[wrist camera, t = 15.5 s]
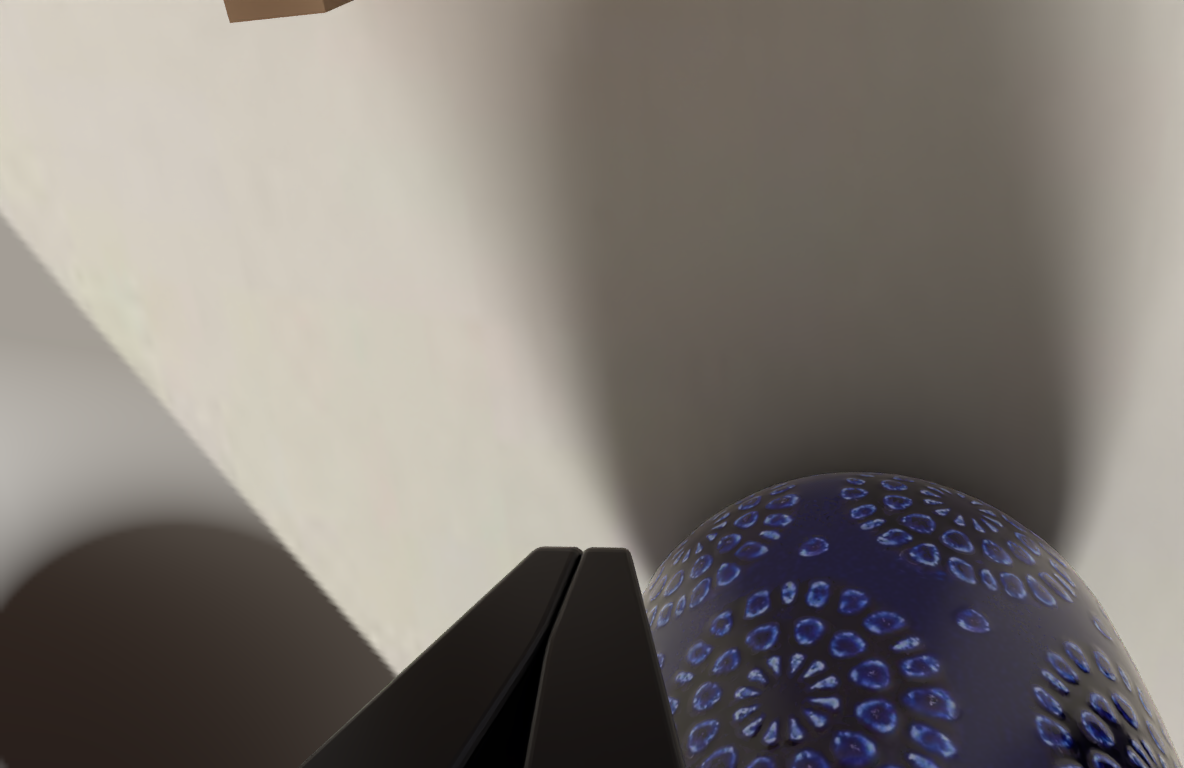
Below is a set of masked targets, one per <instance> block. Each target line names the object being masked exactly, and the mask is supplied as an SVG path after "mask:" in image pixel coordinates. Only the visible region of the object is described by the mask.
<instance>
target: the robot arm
mask: <svg viewBox="0 0 1184 768" xmlns="http://www.w3.org/2000/svg"><path fill="white" fill-rule="evenodd" d="M298 768H686V765H685V761H684V757H683V753H682V750H681V746H680V742H679V738H678V734H677V730H676V726H675V722H674V719H673V715H672V711H671V707H670V703H669V699H668V695H667V691H666V687H665V684H664V680H663V676H662V672H661V668H660V664H659V660H658V656H657V653H656V649H655V645H654V641H653V637H652V633H651V629H650V625H649V621H648V618H647V614H646V610H645V606H644V602H643V598H642V594H641V590H640V587H639V583H638V579H637V575H636V571H635V567H634V563H633V559H632V556H631V553H630V552H629V550H627V549H626V548H604V547H591V548H588V549H586V550H585V551H584V552H583V551H582V550H580V549H579V548H577V547H546V546H545V547H539V548H537V549H535V550H534V551H532V552H531V553H530V554H529V555H528V556H527V557H526V558H525V559H524V560H522V561H521V562H520V563H519V564H518V565H517V566H516V567H515V568H514V569H513V570H512V571H511V572H509V573H508V574H507V575H506V576H505V577H504V578H503V579H502V580H501V581H500V582H499V583H498V584H496V585H495V586H494V587H493V588H492V589H491V590H490V591H489V592H488V593H487V594H486V595H485V596H483V597H482V598H481V599H480V600H479V601H478V602H477V603H476V604H475V605H474V606H473V607H472V608H470V609H469V610H468V611H467V612H466V613H465V614H464V615H463V616H462V617H461V618H460V619H459V620H457V621H456V622H455V623H454V624H453V625H452V626H451V627H450V628H449V629H448V630H447V631H446V632H444V633H443V634H442V635H441V636H440V637H439V638H438V639H437V640H436V641H435V642H434V643H433V644H431V645H430V646H429V647H428V648H427V649H426V650H425V651H424V652H423V653H422V654H421V655H420V656H418V657H417V658H416V659H415V660H414V661H413V662H412V663H411V664H410V665H409V666H408V667H407V668H405V669H404V670H403V671H402V672H401V673H400V674H399V675H398V676H397V677H396V678H395V679H394V680H392V681H391V682H390V683H389V684H388V685H387V686H386V687H385V688H384V689H383V690H382V691H381V692H380V693H378V694H377V695H376V696H375V697H374V698H373V699H372V700H371V701H370V702H369V703H367V705H365V706H364V707H363V708H362V709H361V710H360V711H359V712H358V713H357V714H356V715H354V716H353V717H352V718H351V719H350V720H349V721H348V722H347V723H346V724H345V725H344V726H343V727H342V728H340V729H339V731H337V732H336V733H335V734H334V735H333V736H332V737H331V738H330V739H329V740H327V741H326V742H325V743H324V744H323V745H322V746H321V747H320V748H319V749H318V750H317V751H315V752H314V753H313V754H312V755H311V756H310V757H309V758H308V759H307V760H306V761H305V762H304V763H302V764H301V765H300V766H299V767H298Z"/></svg>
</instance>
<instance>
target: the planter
mask: <svg viewBox="0 0 1184 768" xmlns="http://www.w3.org/2000/svg"><path fill="white" fill-rule="evenodd" d="M642 598H643V602H644V606H645V610H646V614H647V618H648V621H649V625H650V629H651V633H652V637H653V641H654V645H655V649H656V653H657V656H658V660H659V664H660V668H661V672H662V676H663V680H664V684H665V687H666V691H667V695H668V699H669V703H670V707H671V711H672V715H673V719H674V722H675V726H676V730H677V734H678V738H679V742H680V746H681V750H682V753H683V757H684V761H685V765H686V768H1183V766H1182V764H1181V762H1180V759H1179V757H1178V755H1177V752H1176V750H1175V748H1174V746H1173V743H1172V741H1171V739H1170V736H1169V734H1168V732H1167V730H1166V727H1165V725H1164V723H1163V721H1162V718H1161V716H1160V714H1159V712H1158V710H1157V708H1156V706H1155V704H1154V702H1153V700H1152V698H1151V696H1150V694H1149V692H1148V690H1147V688H1146V686H1145V684H1144V682H1143V680H1142V678H1141V676H1140V674H1139V672H1138V670H1137V668H1136V666H1135V664H1134V662H1133V660H1132V659H1131V657H1130V655H1129V653H1128V651H1127V650H1126V648H1125V646H1124V644H1123V642H1122V641H1121V639H1120V637H1119V635H1118V633H1117V632H1116V630H1115V628H1114V626H1113V624H1112V622H1111V621H1110V619H1109V617H1108V615H1107V613H1106V612H1105V610H1104V609H1103V607H1102V606H1101V604H1100V602H1099V601H1098V600H1097V598H1096V597H1095V596H1094V594H1093V593H1092V592H1091V591H1090V589H1089V588H1088V587H1087V585H1086V584H1085V583H1084V582H1083V580H1082V579H1081V578H1080V577H1079V575H1078V574H1077V573H1076V572H1075V570H1074V569H1073V568H1072V567H1071V566H1070V564H1069V563H1068V562H1067V561H1066V560H1065V559H1064V558H1063V557H1062V556H1061V555H1060V554H1059V553H1058V552H1057V551H1056V550H1055V549H1054V548H1053V547H1052V546H1050V545H1049V544H1048V543H1047V542H1046V541H1044V540H1043V539H1042V538H1041V537H1039V536H1038V535H1036V534H1035V533H1034V532H1032V531H1031V530H1029V529H1028V528H1027V527H1025V526H1024V525H1022V524H1021V523H1019V522H1018V521H1016V520H1015V519H1013V518H1012V517H1010V516H1009V515H1007V514H1005V513H1004V512H1002V511H1000V510H999V509H997V508H995V507H993V506H991V505H989V504H987V503H986V502H983V501H981V500H979V499H977V498H975V497H972V496H970V495H967V494H965V493H962V492H960V491H957V490H954V489H951V488H949V487H946V486H943V485H940V484H937V483H933V482H930V481H926V480H922V479H918V478H913V477H908V476H903V475H896V474H888V473H878V472H837V473H827V474H819V475H813V476H807V477H802V478H797V479H793V480H789V481H786V482H782V483H779V484H776V485H773V486H770V487H767V488H765V489H762V490H760V491H758V492H755V493H753V494H751V495H749V496H747V497H745V498H743V499H741V500H739V501H737V502H735V503H733V504H731V505H729V506H728V507H726V508H724V509H723V510H721V511H719V512H718V513H716V514H715V515H713V516H712V517H710V518H709V519H708V520H706V521H705V522H704V523H702V524H701V525H700V526H699V527H698V528H696V529H695V530H694V531H693V532H692V533H691V534H690V535H689V536H688V537H687V538H685V539H684V540H683V541H682V542H681V543H680V544H679V545H678V546H677V547H676V548H675V549H674V550H673V551H672V552H671V553H670V554H669V555H668V556H667V558H666V559H665V560H664V561H663V562H662V564H661V565H660V567H659V568H658V569H657V571H656V572H655V574H654V575H653V577H652V579H651V581H650V582H649V584H648V586H647V588H646V590H645V592H644V593H643V595H642Z"/></svg>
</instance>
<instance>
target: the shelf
mask: <svg viewBox="0 0 1184 768" xmlns="http://www.w3.org/2000/svg"><path fill="white" fill-rule="evenodd" d="M351 1H353V0H224V3H225V7H226V10H227V14H228V17H229V21H230V23H233V22H243V21H252V20H261V19H270V18H279V17H289V16H298V15H307V14H316V13H325V12H328V11H330V10H332V9H335V8H337V7H339V6H341V5H344V4H346V3H348V2H351Z"/></svg>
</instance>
